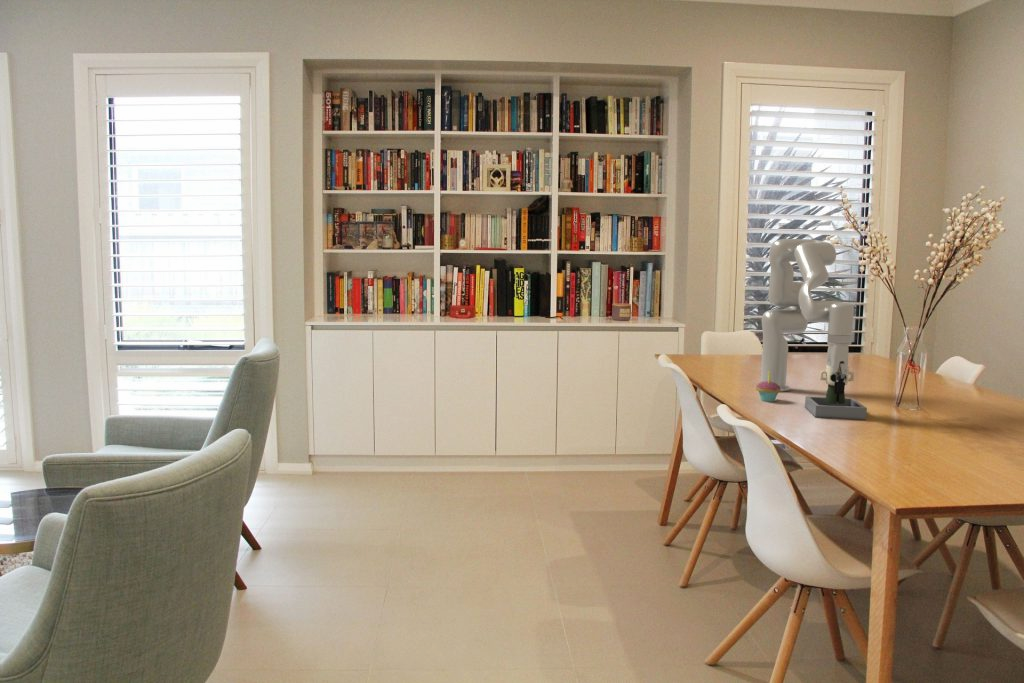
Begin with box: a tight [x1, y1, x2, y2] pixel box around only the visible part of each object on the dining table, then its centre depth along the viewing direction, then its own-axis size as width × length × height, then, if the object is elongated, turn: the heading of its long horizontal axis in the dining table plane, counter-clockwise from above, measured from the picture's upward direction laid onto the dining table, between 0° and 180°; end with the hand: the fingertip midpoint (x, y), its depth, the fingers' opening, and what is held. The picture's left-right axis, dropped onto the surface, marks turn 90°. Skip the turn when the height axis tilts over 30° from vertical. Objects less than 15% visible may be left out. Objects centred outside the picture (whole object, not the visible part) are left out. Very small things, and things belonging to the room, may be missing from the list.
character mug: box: [819, 365, 855, 404], centre depth 265 cm, size 11×7×13 cm, turn 81°
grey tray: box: [804, 395, 868, 421], centre depth 266 cm, size 16×16×4 cm
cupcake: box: [755, 371, 780, 403], centre depth 286 cm, size 9×8×12 cm
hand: (835, 391), depth 265 cm, fingers closed on character mug, 7 cm apart
